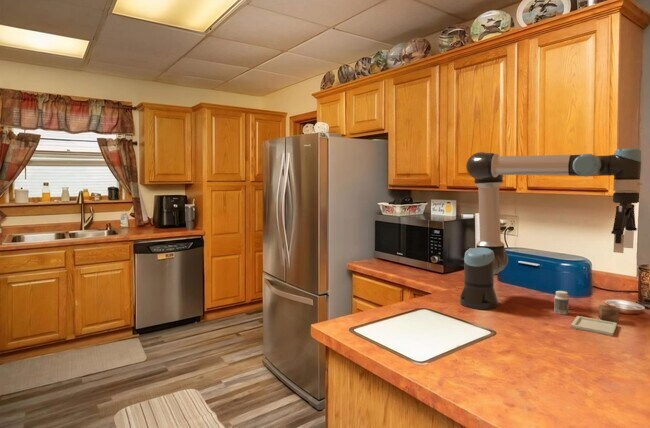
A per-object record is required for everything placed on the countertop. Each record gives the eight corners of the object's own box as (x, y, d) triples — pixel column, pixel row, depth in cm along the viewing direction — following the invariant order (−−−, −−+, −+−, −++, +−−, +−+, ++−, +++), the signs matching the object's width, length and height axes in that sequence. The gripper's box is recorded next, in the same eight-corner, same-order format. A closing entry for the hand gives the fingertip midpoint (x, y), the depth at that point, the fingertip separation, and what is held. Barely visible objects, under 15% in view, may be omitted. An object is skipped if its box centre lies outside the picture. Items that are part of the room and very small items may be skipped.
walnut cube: (601, 322, 142) (601, 308, 142) (598, 317, 146) (599, 304, 146) (618, 324, 140) (618, 310, 139) (615, 319, 144) (615, 306, 144)
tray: (570, 328, 136) (570, 324, 136) (577, 318, 145) (577, 315, 145) (612, 336, 128) (613, 333, 128) (616, 326, 137) (617, 322, 137)
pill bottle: (570, 315, 149) (570, 293, 149) (556, 314, 150) (557, 293, 150) (565, 311, 154) (565, 290, 153) (552, 310, 155) (552, 290, 154)
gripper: (630, 192, 128) (627, 256, 130) (647, 191, 144) (644, 247, 146) (603, 192, 134) (600, 253, 136) (622, 190, 150) (620, 245, 152)
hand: (623, 250), depth 141 cm, fingers open, 13 cm apart
